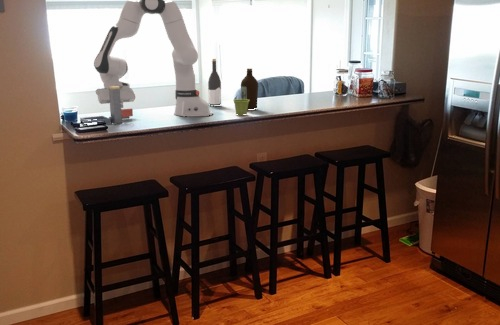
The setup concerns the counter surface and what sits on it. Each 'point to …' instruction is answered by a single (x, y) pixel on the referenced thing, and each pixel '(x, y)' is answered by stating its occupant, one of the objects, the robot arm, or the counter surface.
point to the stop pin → (115, 105)
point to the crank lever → (126, 113)
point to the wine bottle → (214, 86)
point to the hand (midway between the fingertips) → (120, 107)
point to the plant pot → (241, 106)
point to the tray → (99, 118)
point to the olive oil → (249, 89)
